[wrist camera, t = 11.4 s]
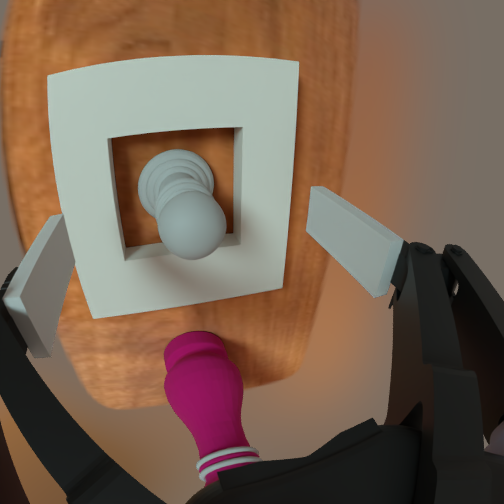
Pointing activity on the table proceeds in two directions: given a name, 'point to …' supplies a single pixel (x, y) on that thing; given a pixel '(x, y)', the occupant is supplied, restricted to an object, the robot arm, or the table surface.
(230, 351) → the table surface
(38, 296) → the robot arm
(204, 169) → the chess piece
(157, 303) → the socket board
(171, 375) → the pepper mill
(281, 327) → the table surface
